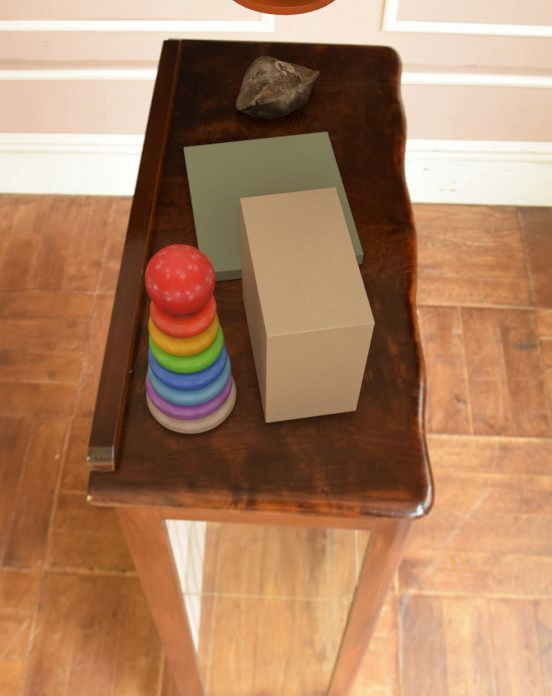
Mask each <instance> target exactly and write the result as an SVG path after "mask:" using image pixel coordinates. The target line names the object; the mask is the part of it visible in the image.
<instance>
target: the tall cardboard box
mask: <svg viewBox="0 0 552 696" xmlns="http://www.w3.org/2000/svg"><path fill="white" fill-rule="evenodd" d="M240 218H241V253H242V278H241V285H242V300H243V305H244V312H245V316H246V317H245V318H246V322H247V328H248V334H249V340H250V344H251V350H252V355H253V362H254V366H255V372H256V377H257V385H258V388H259V395H260V400H261V406H262V410H263V416H264V422H265V423H267V424H268V423H275V422H281V421H283V422H284V421H290V420H298V419H305V418H311V417H312V418H313V417H319V416H326V415H327V416H328V415H335V414H341V413H347V412H356V411H357V407H358V402H359V398H360V393H361V389H362V383H363V379H364V375H365V370H366V365H367V361H368V355H369V351H370V346H371V343H372V342H371V341H372V337H373V333H374V328H375V324H376V322H375V319H374V315H373V312H372V308H371V304H370V301H369V297H368V295H367V290H366V288H365V287H366V286H365V284H364V280H363V277H362V273H361V270H360V267H359V264H358V263H357V259H356V256H355V252H354V249H353V245H352V242H351V238H350V235H349V231H348V228H347V224H346V221H345V217H344V214H343V211H342V207H341V204H340V200H339V197H338V193H337V190H336V187H333V188H324V189H316V190H307V191H298V192H289V193H281V194H272V195H263V196H254V197H246V198H240Z"/></svg>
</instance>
